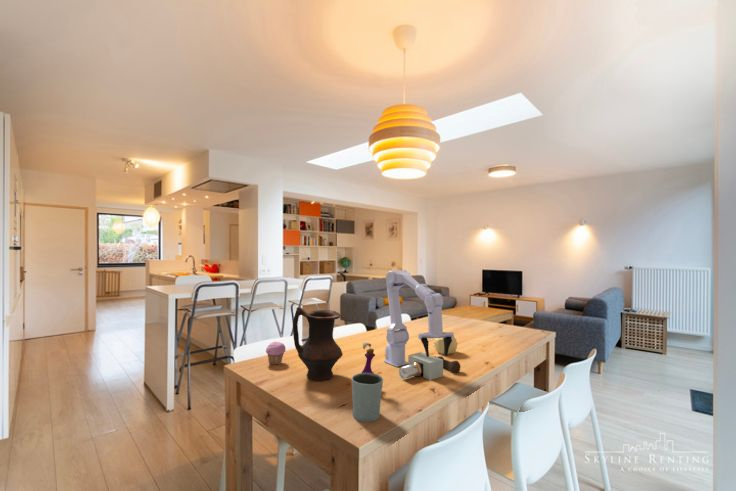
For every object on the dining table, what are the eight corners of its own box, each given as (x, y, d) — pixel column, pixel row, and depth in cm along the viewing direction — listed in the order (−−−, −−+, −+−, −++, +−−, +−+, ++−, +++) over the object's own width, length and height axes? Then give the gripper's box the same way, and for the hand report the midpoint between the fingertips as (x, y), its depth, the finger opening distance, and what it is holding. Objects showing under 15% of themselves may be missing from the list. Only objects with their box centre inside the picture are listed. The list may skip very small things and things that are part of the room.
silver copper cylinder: (397, 377, 140) (398, 364, 140) (421, 370, 148) (421, 358, 149) (407, 382, 136) (407, 368, 136) (430, 374, 144) (431, 361, 144)
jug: (335, 366, 153) (336, 301, 154) (347, 381, 136) (348, 307, 137) (288, 372, 146) (289, 303, 146) (295, 388, 129) (296, 310, 129)
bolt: (434, 367, 160) (457, 376, 147) (427, 363, 158) (450, 372, 145) (439, 355, 162) (462, 363, 149) (432, 351, 160) (454, 359, 147)
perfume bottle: (365, 384, 133) (366, 339, 134) (380, 389, 129) (381, 342, 129) (353, 390, 128) (353, 342, 128) (368, 395, 123) (369, 346, 123)
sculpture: (432, 349, 182) (432, 329, 183) (454, 349, 182) (454, 329, 182) (435, 355, 171) (435, 334, 171) (459, 356, 171) (459, 335, 171)
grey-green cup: (347, 410, 111) (347, 374, 111) (375, 406, 115) (375, 370, 115) (357, 425, 102) (357, 386, 102) (387, 420, 105) (388, 381, 105)
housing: (408, 371, 149) (408, 355, 149) (420, 367, 154) (421, 352, 154) (430, 380, 138) (430, 363, 138) (443, 376, 143) (443, 359, 143)
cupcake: (273, 359, 163) (273, 338, 163) (289, 361, 160) (289, 340, 160) (262, 365, 154) (262, 343, 154) (278, 367, 151) (278, 345, 152)
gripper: (419, 324, 135) (421, 359, 134) (455, 323, 136) (456, 357, 135) (416, 322, 142) (418, 354, 141) (450, 321, 143) (452, 353, 142)
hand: (436, 355), depth 139 cm, fingers open, 7 cm apart
